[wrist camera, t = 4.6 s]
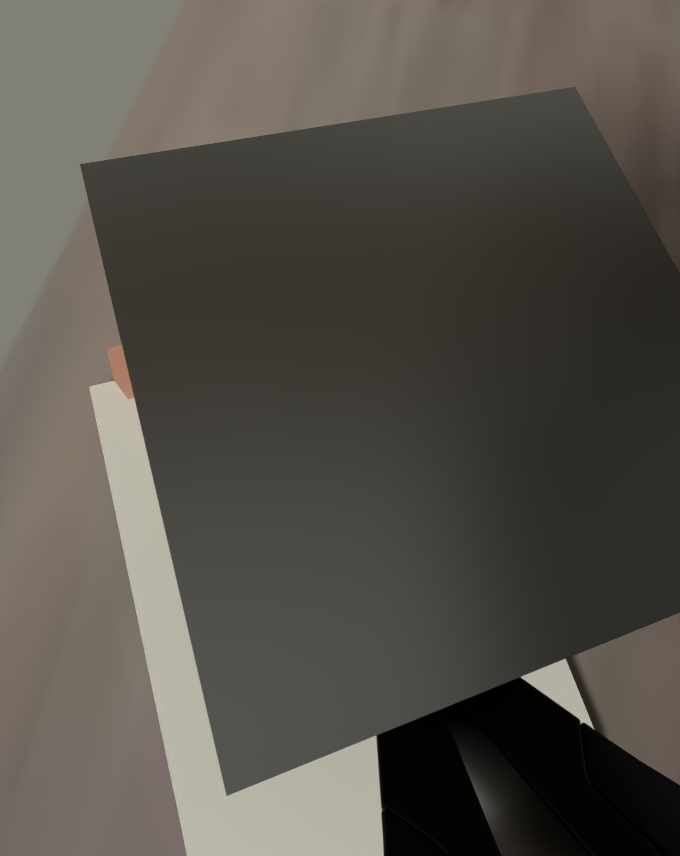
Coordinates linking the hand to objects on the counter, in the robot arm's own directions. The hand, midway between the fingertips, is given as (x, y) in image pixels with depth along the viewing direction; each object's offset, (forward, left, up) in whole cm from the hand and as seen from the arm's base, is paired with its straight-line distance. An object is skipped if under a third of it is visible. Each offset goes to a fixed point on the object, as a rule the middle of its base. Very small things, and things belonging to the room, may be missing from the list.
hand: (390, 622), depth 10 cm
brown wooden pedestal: (+1, -2, -5) cm, 6 cm away
